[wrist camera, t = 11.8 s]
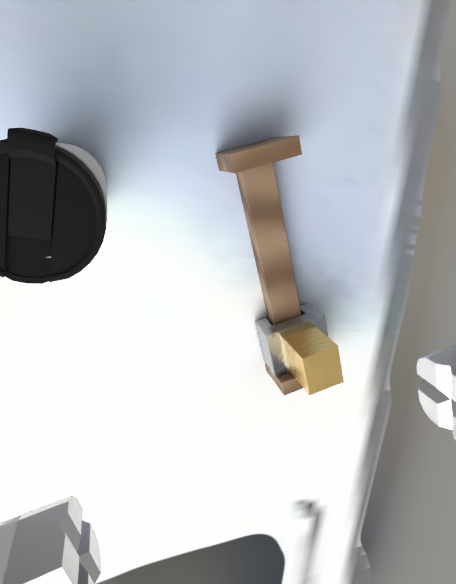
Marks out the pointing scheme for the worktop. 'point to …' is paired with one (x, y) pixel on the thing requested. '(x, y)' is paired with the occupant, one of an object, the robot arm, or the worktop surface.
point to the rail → (267, 228)
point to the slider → (301, 350)
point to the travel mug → (48, 207)
